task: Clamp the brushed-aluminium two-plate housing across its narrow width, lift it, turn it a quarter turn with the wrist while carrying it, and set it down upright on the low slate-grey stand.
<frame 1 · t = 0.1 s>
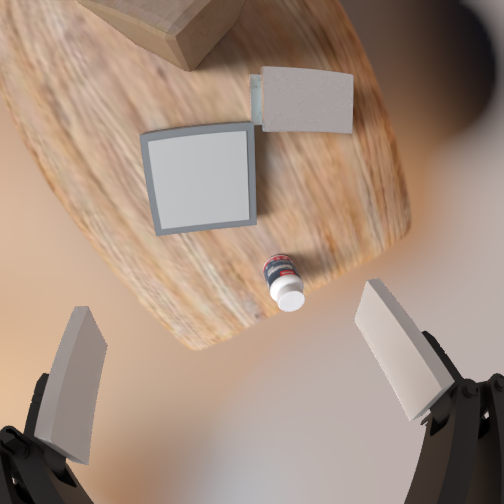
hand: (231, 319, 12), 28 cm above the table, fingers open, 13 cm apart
wooden block: (184, 29, 25), on the table
pill bottle: (277, 266, 46), on the table
housing: (286, 99, 32), on the table
stand: (200, 175, 36), on the table
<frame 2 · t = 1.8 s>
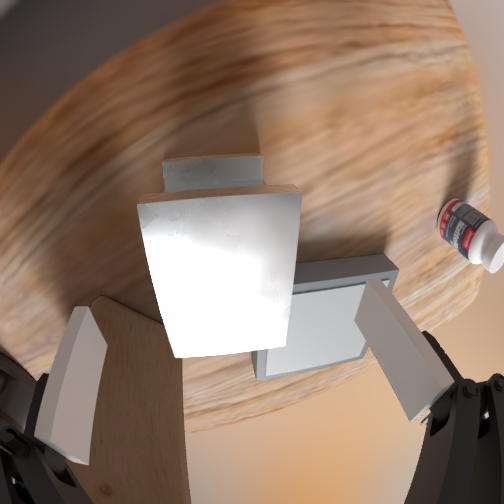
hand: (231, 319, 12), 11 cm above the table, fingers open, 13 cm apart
wooden block: (125, 336, 27), on the table
pill bottle: (448, 216, 26), on the table
housing: (215, 217, 21), on the table
stand: (315, 313, 29), on the table
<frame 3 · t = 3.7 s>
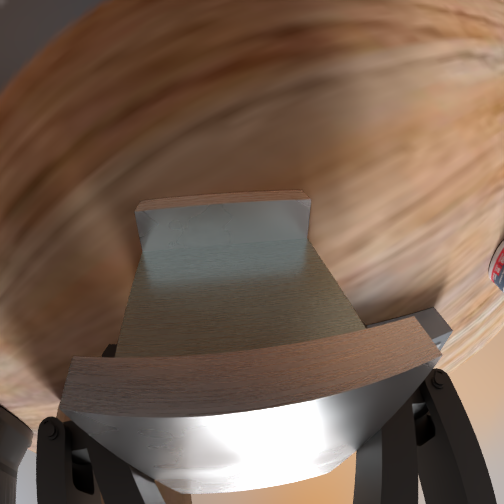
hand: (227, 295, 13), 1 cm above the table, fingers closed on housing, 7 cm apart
wooden block: (115, 404, 19), on the table
pill bottle: (499, 255, 18), on the table
housing: (226, 287, 14), on the table, touching gripper
stand: (346, 377, 22), on the table
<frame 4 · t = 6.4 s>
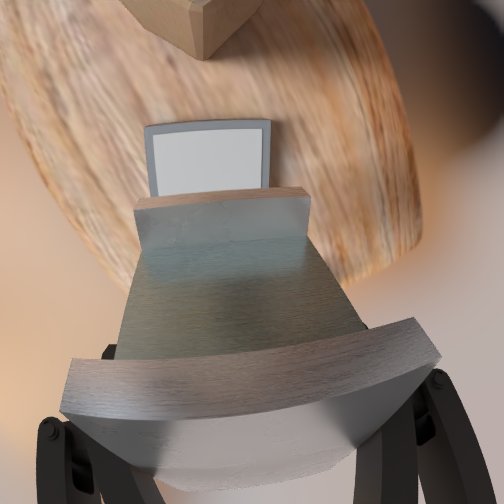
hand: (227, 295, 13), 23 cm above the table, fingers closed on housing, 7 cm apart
wooden block: (198, 16, 22), on the table
housing: (226, 284, 14), point 22 cm above the table, touching gripper
stand: (208, 174, 33), on the table
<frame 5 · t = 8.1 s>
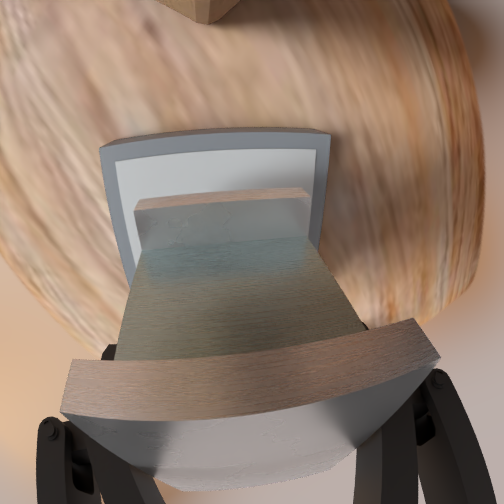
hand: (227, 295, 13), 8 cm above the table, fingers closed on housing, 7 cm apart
housing: (226, 285, 14), point 8 cm above the table, touching gripper
stand: (217, 222, 20), on the table
when the fingers open (4 cm above the table, at t = 9.3 s): housing stays where it is, resting on stand.
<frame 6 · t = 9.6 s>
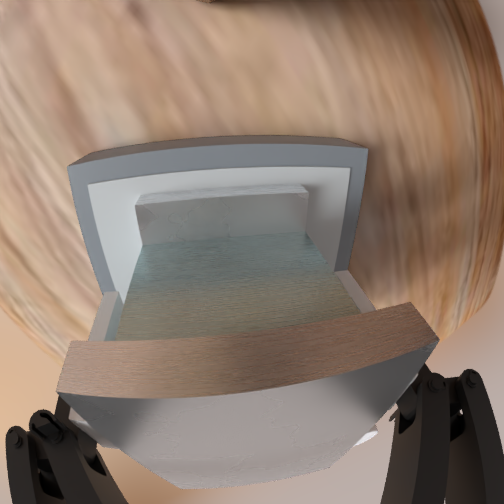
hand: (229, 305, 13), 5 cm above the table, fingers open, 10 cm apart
housing: (226, 281, 14), point 3 cm above the table, touching stand
stand: (221, 252, 17), on the table
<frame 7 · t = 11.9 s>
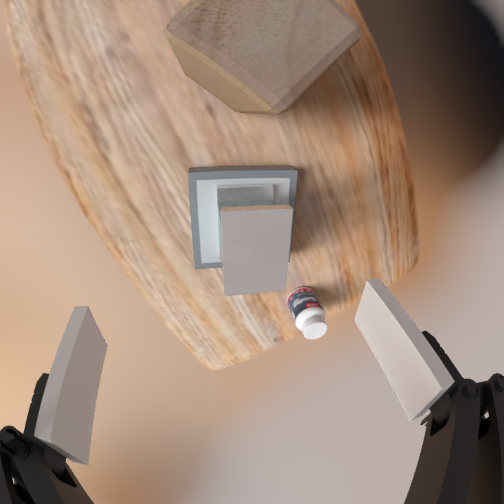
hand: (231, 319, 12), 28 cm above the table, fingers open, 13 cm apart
wooden block: (235, 66, 29), on the table
pill bottle: (299, 296, 49), on the table
housing: (243, 220, 36), point 3 cm above the table, touching stand
stand: (240, 213, 39), on the table
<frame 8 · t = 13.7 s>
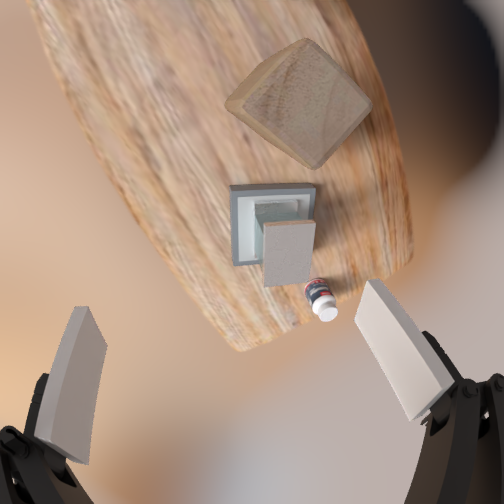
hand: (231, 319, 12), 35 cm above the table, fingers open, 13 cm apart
wooden block: (266, 101, 38), on the table
pill bottle: (314, 286, 59), on the table
housing: (273, 227, 46), point 3 cm above the table, touching stand
stand: (269, 221, 49), on the table
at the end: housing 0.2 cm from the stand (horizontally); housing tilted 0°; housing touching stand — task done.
